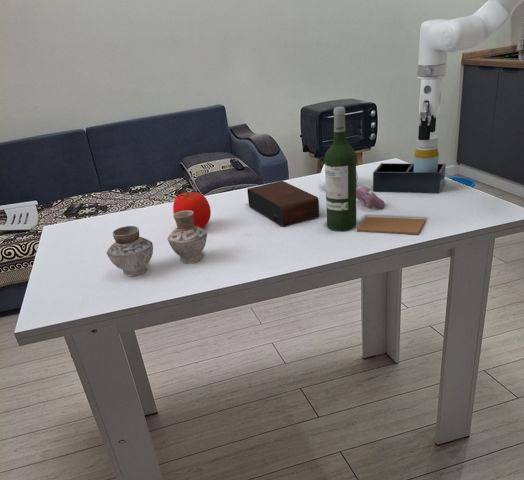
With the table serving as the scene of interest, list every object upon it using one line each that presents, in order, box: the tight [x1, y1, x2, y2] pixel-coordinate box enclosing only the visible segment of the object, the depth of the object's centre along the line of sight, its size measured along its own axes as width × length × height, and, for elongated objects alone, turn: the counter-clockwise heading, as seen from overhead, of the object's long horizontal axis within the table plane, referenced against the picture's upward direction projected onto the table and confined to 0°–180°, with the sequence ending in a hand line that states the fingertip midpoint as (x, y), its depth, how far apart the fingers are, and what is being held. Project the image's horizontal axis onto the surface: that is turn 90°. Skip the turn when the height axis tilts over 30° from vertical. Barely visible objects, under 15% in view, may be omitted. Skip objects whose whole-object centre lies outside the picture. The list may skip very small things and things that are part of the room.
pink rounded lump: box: [356, 185, 386, 210], centre depth 156 cm, size 10×5×7 cm, turn 22°
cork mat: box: [356, 215, 426, 236], centre depth 142 cm, size 16×10×1 cm, turn 66°
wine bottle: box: [324, 106, 357, 232], centre depth 138 cm, size 8×8×30 cm
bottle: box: [413, 134, 440, 173], centre depth 163 cm, size 7×7×15 cm
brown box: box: [246, 180, 320, 228], centre depth 159 cm, size 24×12×6 cm, turn 25°
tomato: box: [172, 191, 212, 229], centre depth 153 cm, size 10×11×11 cm
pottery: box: [106, 210, 208, 277], centre depth 133 cm, size 11×25×12 cm, turn 109°
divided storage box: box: [372, 162, 447, 194], centre depth 167 cm, size 20×10×6 cm, turn 66°
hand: (426, 135), depth 159 cm, fingers open, 9 cm apart
